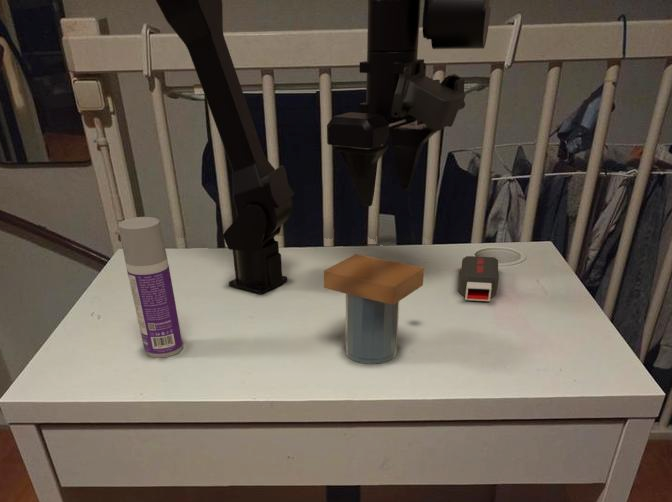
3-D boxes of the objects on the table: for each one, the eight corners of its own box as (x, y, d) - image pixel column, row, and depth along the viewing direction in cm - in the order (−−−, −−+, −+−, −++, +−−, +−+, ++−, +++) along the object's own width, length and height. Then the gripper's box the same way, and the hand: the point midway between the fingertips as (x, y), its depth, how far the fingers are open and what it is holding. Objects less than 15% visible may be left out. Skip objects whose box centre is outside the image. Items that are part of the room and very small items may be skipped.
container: (189, 343, 78) (168, 217, 68) (171, 360, 74) (146, 230, 65) (157, 338, 79) (132, 215, 70) (137, 355, 76) (108, 227, 66)
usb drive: (496, 272, 94) (499, 253, 92) (496, 303, 84) (499, 283, 83) (461, 270, 95) (463, 252, 93) (457, 301, 85) (460, 281, 84)
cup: (336, 355, 74) (335, 290, 69) (363, 337, 78) (364, 273, 73) (379, 368, 71) (382, 301, 66) (405, 348, 75) (409, 283, 70)
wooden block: (323, 288, 69) (323, 270, 68) (355, 270, 73) (355, 253, 72) (393, 305, 65) (394, 286, 64) (423, 285, 69) (424, 267, 68)
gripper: (415, 59, 61) (405, 225, 70) (492, 44, 72) (475, 188, 82) (322, 57, 66) (325, 211, 76) (408, 43, 77) (401, 179, 87)
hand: (386, 197), depth 80 cm, fingers open, 9 cm apart
